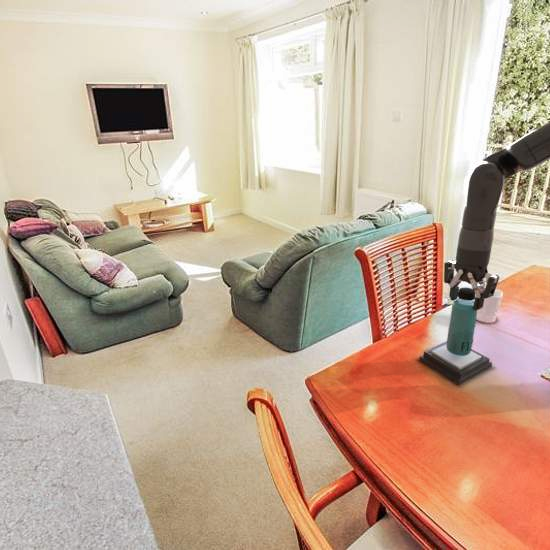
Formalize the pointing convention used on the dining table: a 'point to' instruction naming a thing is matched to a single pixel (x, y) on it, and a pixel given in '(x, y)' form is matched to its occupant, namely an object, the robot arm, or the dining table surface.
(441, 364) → the scale
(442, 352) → the pan
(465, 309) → the beverage bottle
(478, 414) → the dining table surface
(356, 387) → the dining table surface
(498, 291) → the white cup
